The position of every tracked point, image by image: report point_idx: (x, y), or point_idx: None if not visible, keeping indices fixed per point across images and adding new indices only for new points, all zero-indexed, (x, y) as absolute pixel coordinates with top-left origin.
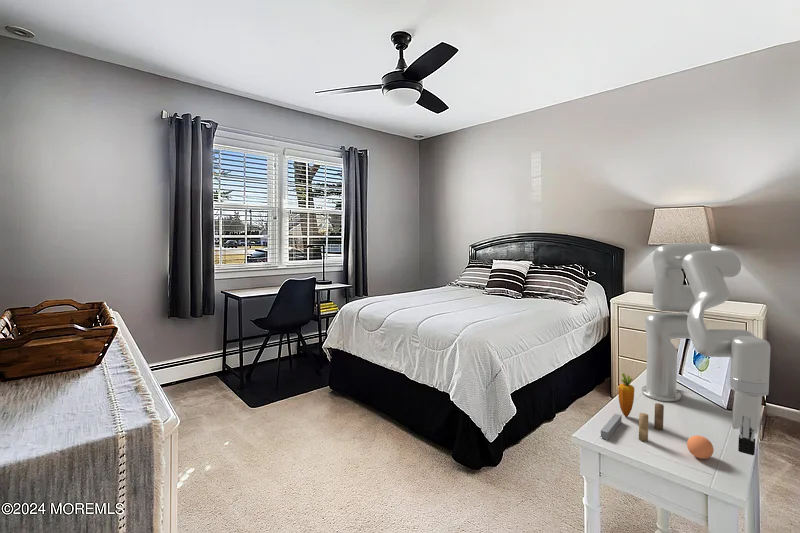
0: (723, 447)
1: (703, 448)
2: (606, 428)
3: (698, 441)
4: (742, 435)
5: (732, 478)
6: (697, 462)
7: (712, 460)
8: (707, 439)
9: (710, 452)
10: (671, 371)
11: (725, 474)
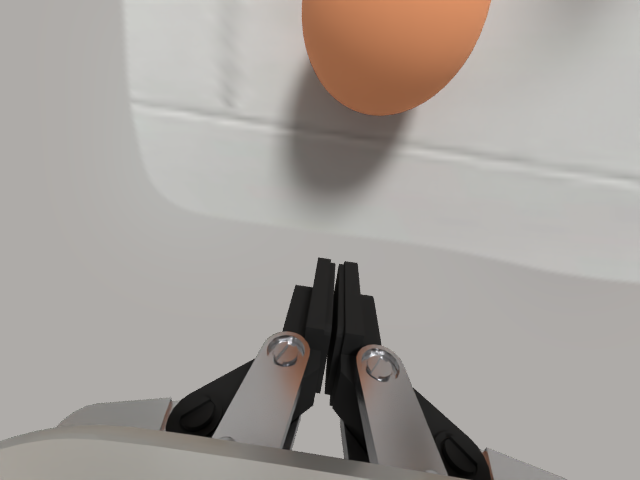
0: (552, 167)
1: (307, 39)
2: None
3: None
4: (189, 396)
5: (254, 188)
6: None
7: None
8: (411, 60)
9: (333, 96)
10: None
11: (269, 164)
